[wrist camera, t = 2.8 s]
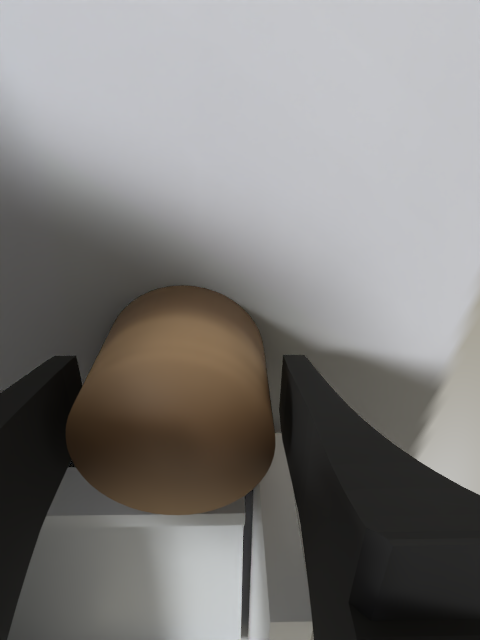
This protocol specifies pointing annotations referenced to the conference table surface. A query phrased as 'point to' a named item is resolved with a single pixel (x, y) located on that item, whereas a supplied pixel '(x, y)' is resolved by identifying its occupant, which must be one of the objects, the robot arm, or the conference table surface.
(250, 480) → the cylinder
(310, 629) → the tray
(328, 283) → the conference table surface
